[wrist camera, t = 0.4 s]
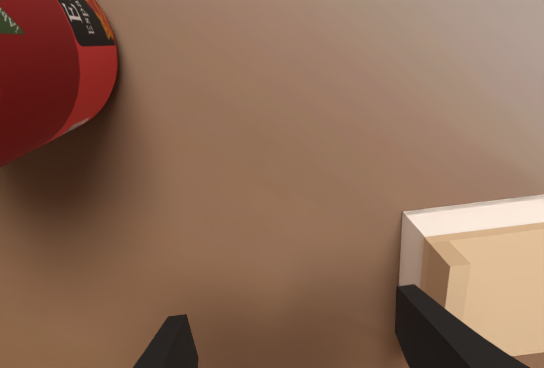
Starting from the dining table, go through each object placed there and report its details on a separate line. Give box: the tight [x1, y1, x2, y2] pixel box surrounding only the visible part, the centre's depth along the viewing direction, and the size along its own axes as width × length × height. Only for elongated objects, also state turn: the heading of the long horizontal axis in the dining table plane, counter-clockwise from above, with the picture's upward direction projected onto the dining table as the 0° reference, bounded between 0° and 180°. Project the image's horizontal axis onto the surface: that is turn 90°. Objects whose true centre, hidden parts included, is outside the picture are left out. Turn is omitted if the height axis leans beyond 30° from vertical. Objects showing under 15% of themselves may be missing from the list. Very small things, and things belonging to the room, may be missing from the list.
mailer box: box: [399, 194, 544, 288], centre depth 22 cm, size 11×9×3 cm
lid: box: [420, 222, 544, 356], centre depth 19 cm, size 11×9×3 cm
